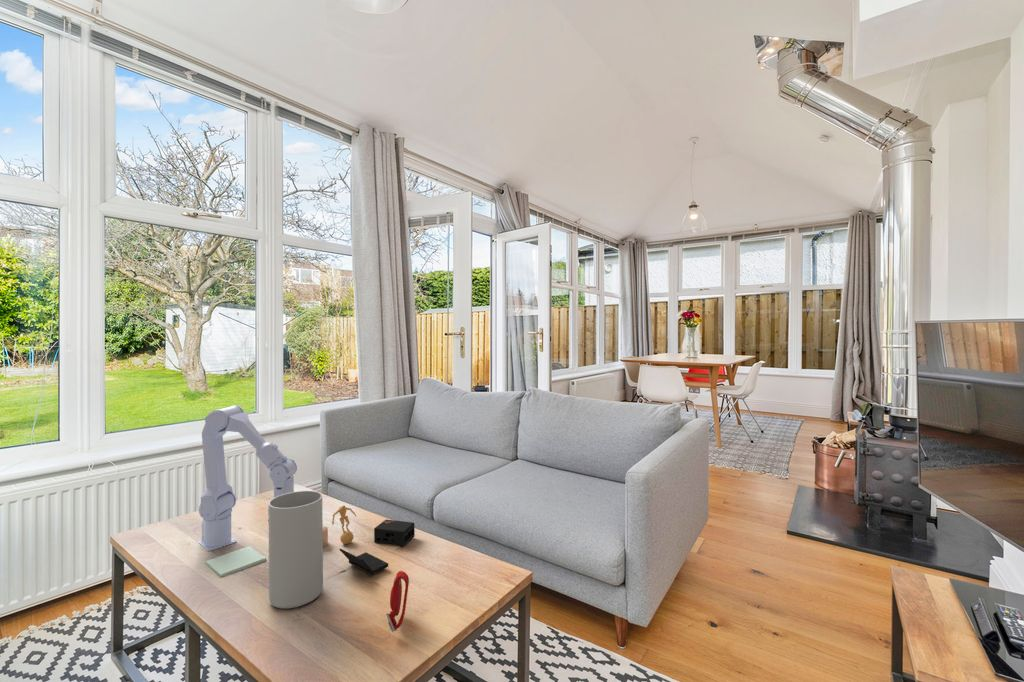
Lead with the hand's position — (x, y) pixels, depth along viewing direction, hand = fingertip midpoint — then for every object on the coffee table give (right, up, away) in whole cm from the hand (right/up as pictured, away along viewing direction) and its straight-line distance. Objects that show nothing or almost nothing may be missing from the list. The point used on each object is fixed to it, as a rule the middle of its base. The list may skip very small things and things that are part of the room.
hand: (284, 540), depth 142 cm
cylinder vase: (+18, -2, -28) cm, 33 cm away
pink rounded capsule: (+11, -1, 0) cm, 11 cm away
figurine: (+19, -2, +2) cm, 19 cm away
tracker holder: (+46, -2, -38) cm, 60 cm away
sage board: (-9, -2, -11) cm, 14 cm away
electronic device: (+34, -2, +4) cm, 35 cm away
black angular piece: (+32, -2, -12) cm, 35 cm away
